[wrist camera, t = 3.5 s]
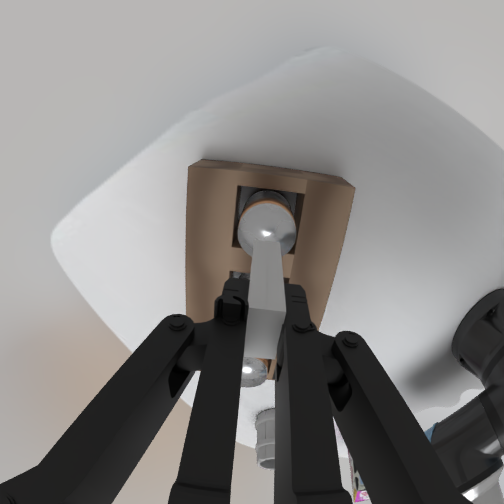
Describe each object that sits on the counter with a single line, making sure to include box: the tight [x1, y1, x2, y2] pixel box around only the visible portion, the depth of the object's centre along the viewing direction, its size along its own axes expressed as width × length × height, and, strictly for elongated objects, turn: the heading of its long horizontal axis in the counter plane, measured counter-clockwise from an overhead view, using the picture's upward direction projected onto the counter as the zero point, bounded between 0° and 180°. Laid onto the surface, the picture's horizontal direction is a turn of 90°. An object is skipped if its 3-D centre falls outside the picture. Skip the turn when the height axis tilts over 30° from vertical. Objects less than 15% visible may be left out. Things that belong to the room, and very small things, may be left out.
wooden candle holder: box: [185, 159, 355, 380], centre depth 30 cm, size 14×24×5 cm, turn 174°
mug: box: [255, 409, 275, 470], centre depth 40 cm, size 8×12×12 cm, turn 71°
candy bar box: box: [348, 451, 370, 502], centre depth 39 cm, size 11×5×16 cm, turn 15°
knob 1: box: [238, 191, 296, 257], centre depth 24 cm, size 4×4×5 cm
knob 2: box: [241, 357, 268, 387], centre depth 31 cm, size 4×4×5 cm
